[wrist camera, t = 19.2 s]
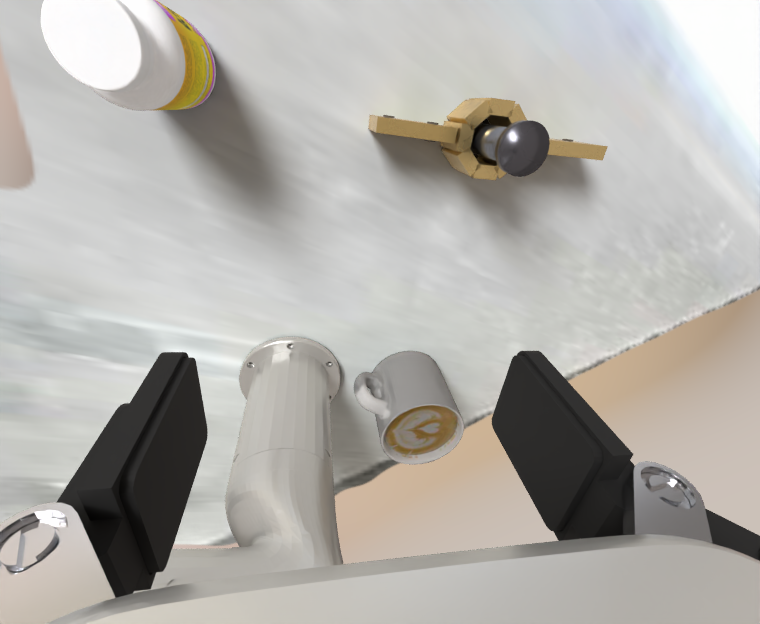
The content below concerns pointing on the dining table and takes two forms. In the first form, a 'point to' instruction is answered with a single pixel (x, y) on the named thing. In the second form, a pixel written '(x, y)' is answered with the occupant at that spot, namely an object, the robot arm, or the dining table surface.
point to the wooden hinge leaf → (412, 129)
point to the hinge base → (502, 115)
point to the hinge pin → (513, 146)
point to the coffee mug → (411, 407)
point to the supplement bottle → (131, 52)
